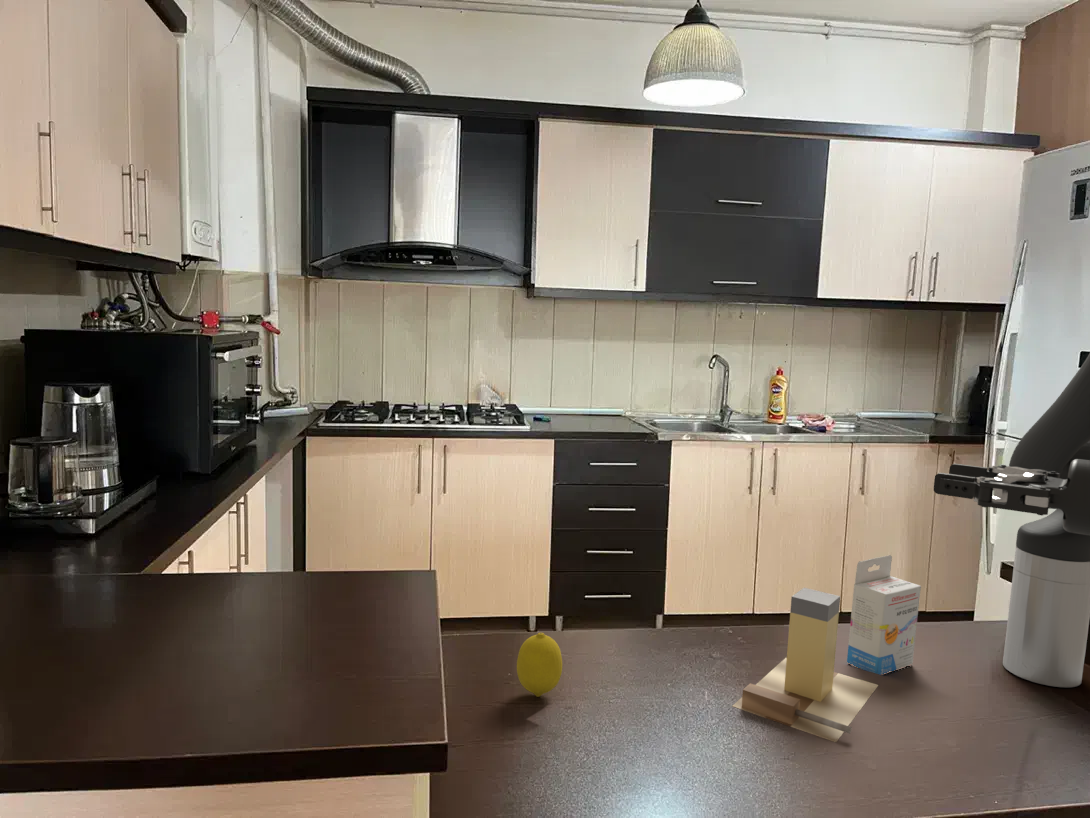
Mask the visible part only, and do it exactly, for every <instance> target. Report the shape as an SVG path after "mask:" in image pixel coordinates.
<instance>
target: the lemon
mask: <svg viewBox="0 0 1090 818" xmlns="http://www.w3.org/2000/svg"><path fill="white" fill-rule="evenodd" d="M517 654H518V655H517V659H516V673H517V677H518V680H519V682H520V684H521V686H522V687H523V688H524V689H525V690H526V691H528V692H529V693H532V694H533V695H535V697H538V698H540V697H541V696H543V695H544V694H547V693H549V692H551V691H552V690H554V689H555V687H557V685H558V684H559V682H560V679H561V678H562V677H561V676H562V672H563V657H562V651H561V648H560V646H559V644H558V643H557V642H556V640H555V639H554V638H552V637H551V636H549V635H546V634H545V633H544V632H538V633H537V634H534V635H531V636H530V637H528V638H527V639H525V640H524V642H523V643H522V645H521V646H520V648H519V651H518V653H517Z"/></svg>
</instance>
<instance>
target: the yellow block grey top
mask: <svg viewBox="0 0 1090 818" xmlns="http://www.w3.org/2000/svg"><path fill="white" fill-rule="evenodd" d="M790 600H791V601H790V610H789V611H790V612H789V623H788V639H787V649H786V652H787V653H786V658H787V661H786V673H785V686H784V690H786V691H789V692H792V693H795V694H798V695H801V696H804V697H807V698H810V699H813V700H817V701H820V702H821V701H822V700H823V699H824V698H825V697H826V695H827V694H828V693H829V692H830V691H831V690H832V686H833V675H834V672H835V661H836V650H837V639H838V627H839V615H840V605H841V604H840V603H841V596H840V595H837V594H832V593H828V592H825V591H824V592H823V591H820V590H816V589H812V588H808V587H803V588H801V589H800V590H799V591H798V592H795V594H793V595H792V596H791V599H790Z"/></svg>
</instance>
